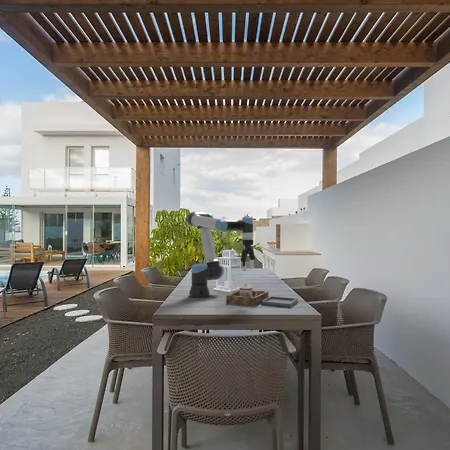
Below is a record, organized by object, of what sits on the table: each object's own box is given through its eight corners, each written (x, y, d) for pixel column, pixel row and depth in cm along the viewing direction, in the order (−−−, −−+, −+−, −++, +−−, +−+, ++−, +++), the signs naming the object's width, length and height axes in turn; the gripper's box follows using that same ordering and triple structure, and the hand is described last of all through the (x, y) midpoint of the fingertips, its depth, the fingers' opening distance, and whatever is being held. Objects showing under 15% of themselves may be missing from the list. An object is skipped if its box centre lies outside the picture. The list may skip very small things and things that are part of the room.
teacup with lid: (238, 301, 232) (238, 284, 232) (240, 299, 241) (240, 282, 241) (256, 302, 230) (256, 284, 230) (257, 299, 239) (257, 282, 239)
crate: (226, 303, 228) (226, 295, 228) (241, 296, 252) (241, 289, 252) (255, 305, 219) (255, 297, 219) (268, 298, 243) (268, 291, 243)
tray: (261, 305, 221) (261, 301, 221) (270, 299, 238) (270, 296, 238) (290, 307, 213) (290, 303, 213) (297, 302, 230) (297, 298, 230)
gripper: (246, 239, 223) (246, 272, 223) (259, 238, 246) (259, 268, 245) (235, 239, 226) (235, 271, 226) (249, 238, 249) (249, 268, 248)
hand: (248, 270), depth 236 cm, fingers open, 13 cm apart
